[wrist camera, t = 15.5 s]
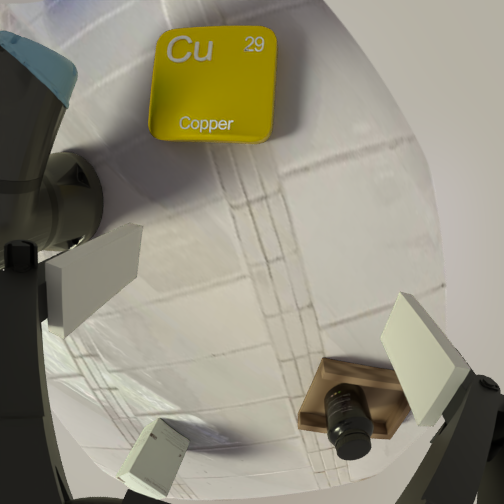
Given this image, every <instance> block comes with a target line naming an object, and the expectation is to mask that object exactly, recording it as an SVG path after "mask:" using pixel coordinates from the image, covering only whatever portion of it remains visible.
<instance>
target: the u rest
mask: <svg viewBox="0 0 504 504" xmlns="http://www.w3.org/2000/svg"><path fill="white" fill-rule="evenodd" d="M342 383H349V384H355V385H359V386H360V387H361V388H362V389H363V390H364V393H365V396H366V399H367V402H368V406H369V409H370V413H371V417H372V420H373V424H374V431H373V434H372V436H371V437H370V438H375V439H391V438H392V436H393V435H394V433H395V432H396V431H397V429H398V428H399V426H400V425H401V423H402V422H403V420H404V419H405V417H406V416H407V414H408V413H409V411H410V410H411V408H410V405H409V403H408V400H407V398H406V396H405V393H404V391H403V389H402V386H401V384H400V382H399V379H398V377H397V375H396V372H395V370H389V369H382V368H376V367H371V366H365V365H359V364H354V363H348V362H343V361H338V360H333V359H327V358H322V360H321V363H320V365H319V367H318V370H317V372H316V374H315V377H314V379H313V381H312V384H311V386H310V388H309V390H308V393H307V395H306V397H305V399H304V401H303V404H302V406H301V408H300V410H299V412H298V429H301V430H307V431H313V432H320V433H327V427H326V418H325V409H324V398H325V395H326V394H327V392H328V391H329V390H330V389H331V388H333V387H334V386H336V385H339V384H342Z"/></svg>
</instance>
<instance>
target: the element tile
mask: <svg viewBox="0 0 504 504" xmlns="http://www.w3.org/2000/svg"><path fill="white" fill-rule="evenodd" d="M277 55H278V47H277V38H276V36H275V34H274V32H273V31H272V30H271V29H269V28H267V27H264V26H207V27H191V28H179V29H172V30H169V31H166V32H164V33H163V34H162V35H161V36H160V38H159V39H158V41H157V44H156V51H155V59H154V67H153V76H152V85H151V95H150V106H149V119H148V127H149V131H150V133H151V135H152V136H153V137H154V138H157V139H159V140H165V141H172V142H217V143H241V144H260V143H263V142H265V141H266V140H267V139H269V137H270V135H271V133H272V129H273V117H274V102H275V87H276V71H277Z"/></svg>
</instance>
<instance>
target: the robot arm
mask: <svg viewBox="0 0 504 504" xmlns="http://www.w3.org/2000/svg"><path fill="white" fill-rule="evenodd" d="M77 77H78V72H77V69H76V67H75V65H74V64H73V63H72V62H71V61H70V60H68V59H67V58H65V57H64V56H62V55H60V54H58V53H57V52H55V51H53V50H51V49H49V48H47V47H45V46H43V45H41V44H39V43H37V42H35V41H32V40H30V39H27V38H25V37H21V36H19V35H16V34H14V33H12V32H8V31H0V504H170V503H167V502H164V501H161V500H158V499H155V498H152V497H149V496H146V495H143V494H141V493H138V492H135V491H133V490H130V489H128V490H127V492H126V495H125V497H124V499H119V498H110V497H87V498H79V499H74V500H73V497H72V494H71V492H70V489H69V486H68V483H67V480H66V477H65V473H64V469H63V466H62V462H61V458H60V454H59V450H58V445H57V441H56V436H55V431H54V426H53V421H52V415H51V410H50V403H49V397H48V390H47V382H46V374H45V365H44V354H43V340H42V327H41V322H42V321H44V320H45V319H46V318H48V329H49V332H51V333H53V334H55V335H57V336H59V337H61V338H64V339H65V338H66V337H67V336H68V335H69V334H70V333H72V332H73V331H74V330H75V329H76V328H77V327H78V326H80V325H81V324H82V323H83V322H84V321H85V320H86V319H88V318H89V317H90V316H91V315H92V314H93V313H95V312H96V311H97V310H98V309H99V308H100V307H102V306H103V305H104V304H105V303H106V302H107V301H109V300H110V299H111V298H112V297H113V296H115V295H116V294H117V293H118V292H119V291H121V290H122V289H123V288H124V287H125V286H127V285H128V284H129V283H130V282H131V281H133V280H134V279H135V278H136V277H137V271H138V262H139V254H140V246H141V238H142V230H143V226H140V225H136V224H133V223H128V224H126V225H124V226H121V227H119V228H117V229H114V230H112V231H110V232H108V233H106V234H103V235H101V236H99V237H97V238H95V239H92V240H90V239H91V238H92V236H93V235H94V234H95V232H96V230H97V228H98V226H99V224H100V221H101V217H102V211H103V194H102V189H101V185H100V181H99V179H98V176H97V174H96V172H95V170H94V169H93V167H92V166H91V165H90V164H89V163H88V162H87V161H86V160H85V159H84V158H83V157H81V156H79V155H77V154H74V153H70V152H60V153H53V154H50V153H51V150H52V147H53V144H54V141H55V138H56V135H57V132H58V130H59V127H60V124H61V122H62V119H63V117H64V114H65V112H66V109H68V108H69V100H70V97H71V94H72V92H73V89H74V86H75V84H76V81H77ZM89 240H90V241H89ZM42 250H46V251H63V252H61V253H59V254H57V255H55V256H52V257H51V258H48V259H46V260H44V261H42V262H40V263H38V252H39V251H42ZM3 269H4V271H3ZM380 339H381V341H382V344H383V346H384V348H385V350H386V352H387V355H388V357H389V359H390V361H391V363H392V366H393V368H394V370H395V372H396V375H397V377H398V379H399V382H400V384H401V386H402V389H403V391H404V393H405V396H406V398H407V400H408V403H409V405H410V408H411V410H412V412H413V415H414V417H415V420H416V422H417V425H418V426H434V425H435V423H436V422H437V421H438V419H439V418H440V416H441V415H443V417H444V419H445V422H444V424H443V425H442V426H441V428H440V429H439V430H438V432H437V433H436V435H435V436H434V437H433V439H432V440H431V441H430V443H432V445H431V446H430V448H429V450H428V452H427V454H426V455H425V457H424V459H423V461H422V462H421V464H420V466H419V467H418V469H417V471H416V473H415V474H414V476H413V477H412V479H411V481H410V482H409V484H408V485H407V487H406V488H405V490H404V491H403V493H402V495H401V496H400V497H399V499H398V500H397V502H396V503H395V504H473V503H474V500H475V497H476V494H477V504H504V395H502V394H500V388H499V386H498V384H497V383H496V382H494V381H493V380H492V379H491V378H489V377H486V376H484V375H476V374H475V373H474V372H473V370H472V369H471V368H470V366H469V365H468V363H466V361H465V359H464V358H463V357H462V355H461V354H460V353H459V352H458V350H457V349H456V348H455V347H454V346H453V345H452V343H451V342H450V341H449V339H448V338H447V337H446V336H445V334H444V333H443V332H442V330H441V329H440V328H439V327H438V325H437V324H436V323H435V322H434V320H433V319H432V318H431V317H430V316H429V314H428V313H427V312H426V311H425V309H424V308H423V307H422V306H421V305H420V303H419V302H418V301H417V300H416V299H415V298H414V296H413V295H411V294H407V293H403V292H399V295H398V297H397V300H396V302H395V305H394V307H393V310H392V312H391V315H390V317H389V319H388V322H387V324H386V326H385V329H384V331H383V333H382V335H381V338H380ZM477 492H478V493H477Z"/></svg>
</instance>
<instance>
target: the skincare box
mask: <svg viewBox="0 0 504 504" xmlns="http://www.w3.org/2000/svg"><path fill="white" fill-rule="evenodd" d="M189 443H190V441H189V440H188V439H187V438H185V437H183V436H182V435H181V434H179V433H178V432H176V431H175V430H174V429H172V428H171V427H170V426H168V425H167V424H166V423H165V422H164V421H162V420H161V419H159V418H158V419H157V420H155V421H154V422H152V423H151V424H149V425H147V426H146V427H145V428H144V429H143V431H142V433H141V434H140V436H139V438H138V440H137V441H136V443H135V445H134V446H133V448H132V450H131V452H130V453H129V455H128V457H127V458H126V460H125V462H124V464H123V465H122V467H121V469H120V470H119V472H118V474H117V475H116V478H117V479H118V480H120V481H121V482H122V483H124V484H125V485H126V486H128V487H129V488H130V489H131V490H133V491H135V492H138V493H141V494H143V495H146V496H149V497H152V498H155V499H162V498H166V497H167V495H168V493H169V490H170V488H171V486H172V483H173V481H174V479H175V476H176V474H177V472H178V469H179V467H180V465H181V462H182V460H183V458H184V455H185V453H186V450H187V448H188V446H189Z"/></svg>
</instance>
